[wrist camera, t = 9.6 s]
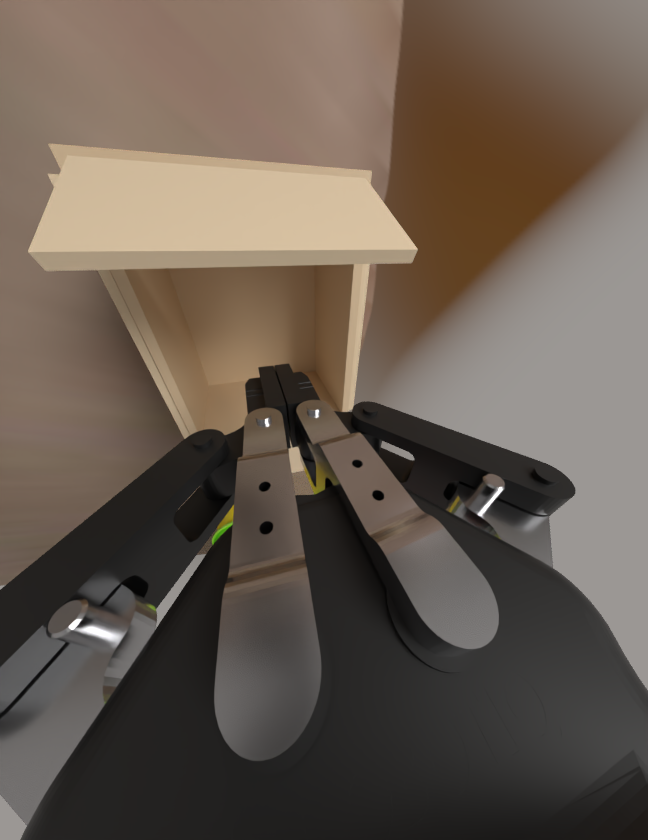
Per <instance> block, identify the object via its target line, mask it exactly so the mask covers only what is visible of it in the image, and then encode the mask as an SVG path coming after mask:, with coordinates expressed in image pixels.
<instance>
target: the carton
mask: <svg viewBox="0 0 648 840" xmlns="http://www.w3.org/2000/svg"><path fill="white" fill-rule="evenodd" d="M49 146H50V148H51V151H52V153H53V155H54V157H55V159H56V161H57V163H58V165H59V167H60V169H61V170H62V167H63V165H64V162H65V160H66V157H67V155H69V156H82V157H95V158H108V159H121V160H134V161H148V162H161V163H174V164H187V165H200V166H213V167H227V168H240V169H253V170H266V171H279V172H292V173H305V174H319V175H332V176H345V177H358V178H366V180H367V181H368V182H369V184H371V174H372V171H367V170H355V169H343V168H331V167H319V166H308V165H296V164H284V163H272V162H260V161H249V160H237V159H225V158H213V157H201V156H190V155H178V154H166V153H154V152H142V151H131V150H119V149H107V148H95V147H83V146H72V145H60V144H49ZM48 176H49V178H50V180H51V182H52V184H53V186H54V187H55V184H56V182H57V179H58V177H59V174H48ZM377 195H378V193H377ZM369 266H370V264H343V265H298V266H253V267H208V268H164V269H119V270H97V271H98V273H99V275H100V277H101V279H102V280H103V282H104V284H105V286H106V288H107V290H108V292H109V294H110V296H111V298H112V300H113V302H114V304H115V306H116V308H117V309H118V311H119V313H120V315H121V317H122V319H123V321H124V323H125V325H126V327H127V329H128V331H129V333H130V335H131V337H132V338H133V340H134V342H135V344H136V346H137V348H138V350H139V352H140V354H141V356H142V358H143V360H144V362H145V364H146V366H147V367H148V369H149V371H150V373H151V375H152V377H153V379H154V381H155V383H156V385H157V387H158V389H159V391H160V393H161V395H162V396H163V398H164V400H165V402H166V404H167V406H168V408H169V410H170V412H171V414H172V416H173V418H174V420H175V422H176V424H177V425H178V427H179V429H180V431H181V433H182V435H183V437H184V439H186V438H187V437H188V436H190V435H191V434H193V433H195V432H198V431H201V430H205V429H216V430H219V431H221V432H222V433H223V434H224V435H227V434H229V433H232V432H234V431H236V430H238V429H240V428H241V427H242V426H243V425H244V422H245V418H246V416H247V415H248V412H247V402H246V391H245V384H246V382H247V381H248V379H250V378H258V377H260V375H259V369H258V367H264V366H272V365H273V366H274V365H280V364H288V363H289V364H290V367H291V369H292V371H293V373H295V372H302V373H304V374H305V375H307V376H308V378H309V380H310V382H311V383H312V385H313V387H314V389H315V391H316V393H317V394H318V396H319V398H320V400H321V401H324V402H326V403H328V404H329V405H330V406H331V408H332V409H333V411H338V412H348V410H352V409H353V405H354V396H355V388H356V379H357V370H358V362H359V353H360V344H361V336H362V327H363V318H364V310H365V301H366V292H367V284H368V275H369Z"/></svg>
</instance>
